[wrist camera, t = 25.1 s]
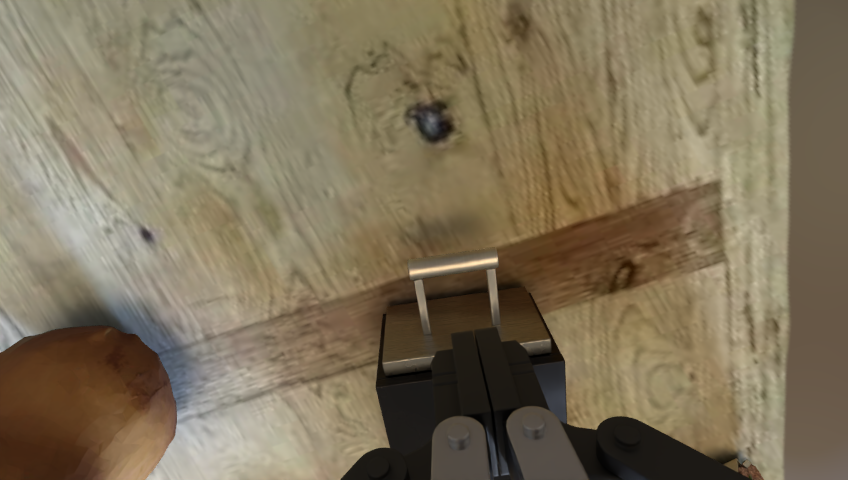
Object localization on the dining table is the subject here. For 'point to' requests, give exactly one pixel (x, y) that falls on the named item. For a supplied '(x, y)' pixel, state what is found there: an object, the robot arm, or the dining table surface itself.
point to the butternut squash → (83, 406)
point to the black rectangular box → (414, 403)
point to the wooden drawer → (457, 314)
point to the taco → (745, 469)
